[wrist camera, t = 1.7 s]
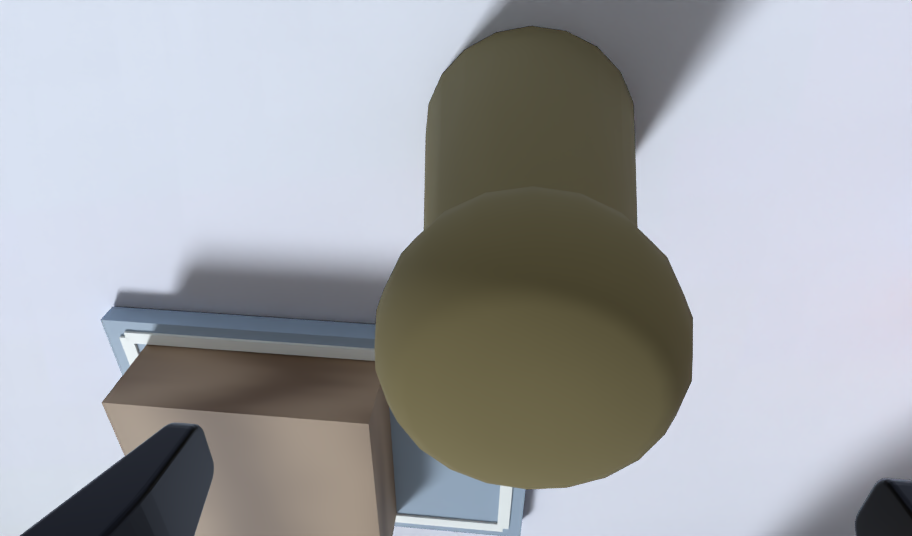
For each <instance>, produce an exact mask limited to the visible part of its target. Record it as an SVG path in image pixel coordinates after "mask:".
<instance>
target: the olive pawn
mask: <svg viewBox="0 0 912 536" xmlns="http://www.w3.org/2000/svg"><path fill="white" fill-rule="evenodd" d="M374 350H375V370H376V373H377V376H378V379H379V381H380V384H381V387H382V390H383V392H384V395H385V398H386V401H387V403H388V405H389V407H390V409H391V411H392V413H393V414H394V416H395V418H396V420H397V422H398V423H399V424H400V426H401V427H402V428H403V429H404V430H405V432H406V433H407V434H408V435H409V436H410V438H411V439H412V440H413V441H414V442H415V444H416V445H417V446H418V447H419V448H420V449H421V450H422V451H424V452H425V453H427V454H428V455H430V456H431V457H433V458H434V459H436V460H437V461H438V462H440V463H441V464H443V465H444V466H446V467H447V468H449V469H450V470H453V471H456V472H458V473H461V474H463V475H466V476H469V477H471V478H474V479H477V480H479V481H482V482H485V483H488V484H495V485H501V486H508V487H514V488H521V489H546V488H567V487H571V486H575V485H579V484H583V483H586V482H590V481H594V480H598V479H602V478H606V477H608V476H609V475H611V474H613V473H615V472H617V471H619V470H621V469H623V468H624V467H626V466H628V465H630V464H632V463H634V462H636V461H637V460H639V459H640V458H641V457H642V456H643V455H644V454H645V453H646V452H647V451H648V450H649V449H650V448H651V447H652V446H653V445H655V444H656V443H657V442H658V441H659V440H660V439H661V438H662V437H663V436H664V435H665V433H666V432H667V430H668V428H669V426H670V425H671V423H672V421H673V420H674V418H675V416H676V414H677V412H678V410H679V408H680V406H681V403H682V401H683V399H684V397H685V395H686V392H687V390H688V388H689V386H690V384H691V381H692V360H693V317H692V314H691V312H690V309H689V307H688V304H687V301H686V299H685V296H684V294H683V292H682V289H681V287H680V285H679V283H678V280H677V278H676V276H675V274H674V271H673V269H672V267H671V265H670V262H669V260H668V258H667V257H666V256H665V255H664V254H663V253H662V252H661V251H660V250H659V249H658V248H657V247H656V245H655V244H654V243H653V242H652V241H650V240H649V239H648V238H647V237H646V236H645V235H644V234H643V233H642V232H641V231H640V230H639V229H638V228H637V197H636V162H635V130H634V109H633V101H632V98H631V96H630V94H629V91H628V89H627V86H626V84H625V82H624V79H623V77H622V74H621V72H620V71H619V70H618V69H617V68H616V67H615V66H614V64H613V63H612V62H611V61H610V60H609V59H608V58H607V57H606V56H605V55H604V54H603V53H602V52H601V50H600V49H599V48H598V47H596V46H594V45H592V44H590V43H588V42H586V41H585V40H583V39H581V38H579V37H577V36H575V35H573V34H571V33H569V32H567V31H562V30H555V29H548V28H541V27H534V26H528V27H523V28H518V29H512V30H507V31H502V32H496V33H494V34H492V35H490V36H489V37H487V38H485V39H483V40H481V41H480V42H478V43H476V44H474V45H472V46H471V47H469V48H467V49H465V50H464V51H463V52H462V53H461V54H460V55H459V56H458V58H457V59H456V60H455V61H454V62H453V63H452V64H451V65H450V66H449V67H448V68H447V70H446V71H445V72H444V73H443V74H442V75H441V77H440V80H439V82H438V84H437V86H436V89H435V91H434V93H433V95H432V98H431V100H430V102H429V105H428V116H427V126H426V145H425V198H424V231H423V232H422V233H421V234H420V235H419V236H417V237H416V238H415V239H414V240H413V241H412V243H411V244H410V245H409V246H408V247H407V248H406V249H405V250H404V251H403V252H402V253H401V255H400V257H399V259H398V261H397V263H396V265H395V268H394V270H393V272H392V274H391V276H390V278H389V280H388V282H387V284H386V286H385V288H384V290H383V293H382V296H381V299H380V301H379V304H378V307H377V310H376V327H375V346H374Z"/></svg>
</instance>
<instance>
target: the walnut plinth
mask: <svg viewBox="0 0 912 536" xmlns="http://www.w3.org/2000/svg"><path fill="white" fill-rule="evenodd" d="M102 404H103V407H104V409H105V411H106V414H107V416H108V418H109V421H110V423H111V425H112V427H113V430H114V432H115V434H116V437H117V439H118V441H119V444H120V446H121V448H122V450H123V453H124V455H125V456H126V455H127V454H128V453H130V452H131V451H132V450H134V449H135V448H136V447H138V446H139V445H140V444H142V443H143V442H144V441H146V440H147V439H148V438H150V437H151V436H152V435H154V434H155V433H156V432H158V431H159V430H160V429H162V428H163V427H164V426H166V425H168V424H170V423H189V424H197V425H199V426H200V427H201V428H202V429H203V431H204V434H205V437H206V440H207V443H208V446H209V449H210V452H211V456H212V459H213V463H214V474H213V479H212V482H211V485H210V488H209V492H208V495H207V498H206V501H205V504H204V507H203V510H202V514H201V517H200V520H199V523H198V526H197V529H196V532H195V535H194V536H392V535H393V530H394V525H395V520H396V515H397V508H396V494H395V480H394V466H393V452H392V438H391V424H390V410H389V405H388V403H387V401H386V398H385V395H384V392H383V390H382V387H381V384H380V381H379V379H378V376H377V373H376V370H375V361H368V360H354V359H341V358H327V357H313V356H299V355H285V354H272V353H258V352H244V351H230V350H217V349H203V348H189V347H175V346H161V345H148V344H147V345H146V346H145V347H144V349H143V350H142V351H141V352H140V354H139V355H138V356H137V358H136V359H135V360H134V362H133V363H132V364H131V365H130V367H129V368H128V369H127V371H126V372H125V373H124V375H123V376H122V377H121V378H120V380H119V381H118V382H117V384H116V385H115V386H114V388H113V389H112V390H111V391H110V393H109V394H108V395H107V397H106V398H105V399H104V400H103V402H102Z"/></svg>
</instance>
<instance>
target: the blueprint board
mask: <svg viewBox="0 0 912 536" xmlns="http://www.w3.org/2000/svg"><path fill="white" fill-rule="evenodd" d="M101 322H102V325H103V327H104V330H105V332H106V335H107V337H108V340H109V342H110V345H111V347H112V350H113V353H114V355H115V358H116V360H117V363H118V365H119V368H120V370H121V373H122V375H124V373H125V372H126V371H127V369H128V368H129V367H130V365H131V364H132V363H133V362H134V360H135V359H136V358H137V356H138V355H139V354H140V352H141V351H142V350H143V349H144V347H145V346H146V345H147V344H148V345H161V346H175V347H189V348H203V349H217V350H230V351H244V352H258V353H272V354H285V355H299V356H313V357H327V358H341V359H354V360H368V361H375V350H374V346H375V327H376V325H375V324H360V323H346V322H331V321H316V320H302V319H287V318H272V317H258V316H243V315H228V314H214V313H199V312H184V311H170V310H155V309H140V308H126V307H112V308H111V309H110V310H109V311H108V312H107V313H106V315H105V316H104V317H103V318H102V319H101ZM389 410H390V424H391V438H392V452H393V466H394V480H395V494H396V508H397V515H396V520H395V525H394V526H399V527H410V528H421V529H431V530H442V531H453V532H464V533H475V534H486V535H497V536H520V534H521V525H522V516H523V507H524V499H525V490H526V489H521V488H514V487H508V486H501V485H495V484H488V483H485V482H482V481H479V480H477V479H474V478H471V477H469V476H466V475H463V474H461V473H458V472H456V471H453V470H450V469H449V468H447V467H446V466H444V465H443V464H441V463H440V462H438V461H437V460H436V459H434V458H433V457H431V456H430V455H428V454H427V453H425V452H424V451H422V450H421V449H420V448H419V447H418V446H417V445H416V444H415V442H414V441H413V440H412V439H411V438H410V436H409V435H408V434H407V433H406V432H405V430H404V429H403V428H402V427H401V426H400V424H399V423H398V422H397V420H396V418H395V416H394V414H393V413H392V411H391V409H390V407H389Z"/></svg>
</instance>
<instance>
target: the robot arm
mask: <svg viewBox="0 0 912 536" xmlns="http://www.w3.org/2000/svg"><path fill="white" fill-rule="evenodd" d="M213 474H214V463H213V459H212V456H211V452H210V449H209V446H208V443H207V440H206V437H205V434H204V431H203V429H202V428H201V427H200V426H199V425H197V424H189V423H170V424H168V425H166V426H164V427H163V428H162V429H160V430H159V431H158V432H156V433H155V434H154V435H152V436H151V437H150V438H148V439H147V440H146V441H144V442H143V443H142V444H140V445H139V446H138V447H136V448H135V449H134V450H132V451H131V452H130V453H128V454H127V455H126V456H125V457H123V458H122V459H121V460H119V461H118V462H117V463H115V464H114V465H113V466H111V467H110V468H109V469H107V470H106V471H105V472H103V473H102V474H101V475H99V476H98V477H97V478H95V479H94V480H93V481H91V482H90V483H89V484H87V485H86V486H85V487H84V488H82V489H81V490H80V491H78V492H77V493H76V494H74V495H73V496H72V497H70V498H69V499H68V500H66V501H65V502H64V503H62V504H61V505H60V506H58V507H57V508H56V509H54V510H53V511H52V512H50V513H49V514H48V515H46V516H45V517H44V518H43V519H41V520H40V521H39V522H37V523H36V524H35V525H33V526H32V527H31V528H29V529H28V530H27V531H25V532H24V533H23V534H21V535H20V536H194V535H195V532H196V529H197V526H198V523H199V520H200V517H201V514H202V510H203V507H204V504H205V501H206V498H207V495H208V492H209V488H210V485H211V482H212V479H213ZM855 531H856V536H912V480H902V479H890V478H884V479H881V480H879V481H878V482H877V483H876V484H875V485H874V487H873V489H872V490H871V492H870V494H869V495H868V497H867V499H866V500H865V502H864V504H863V505H862V507H861V509H860V510H859V512H858V514H857V517H856V521H855Z"/></svg>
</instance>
